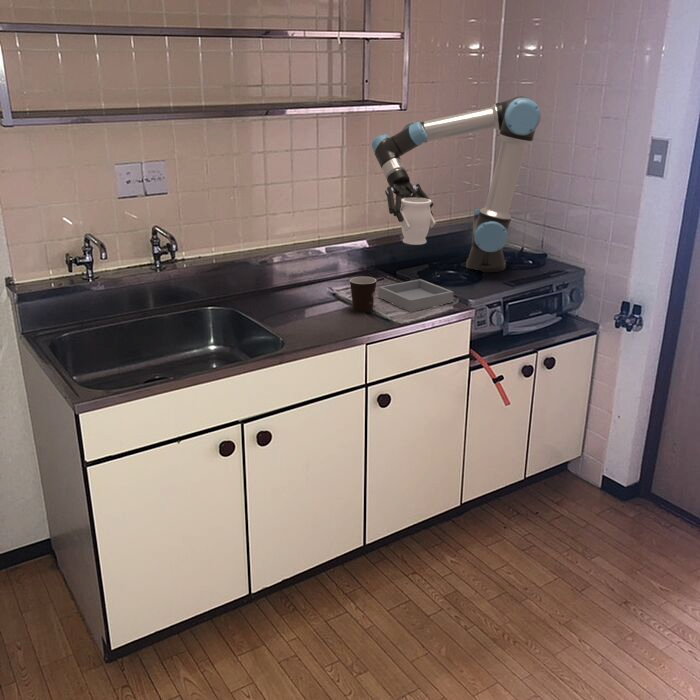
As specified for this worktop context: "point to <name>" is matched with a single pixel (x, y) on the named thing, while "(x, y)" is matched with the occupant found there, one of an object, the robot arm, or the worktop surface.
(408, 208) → the jar
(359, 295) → the coffee mug
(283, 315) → the worktop surface
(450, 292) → the tray
